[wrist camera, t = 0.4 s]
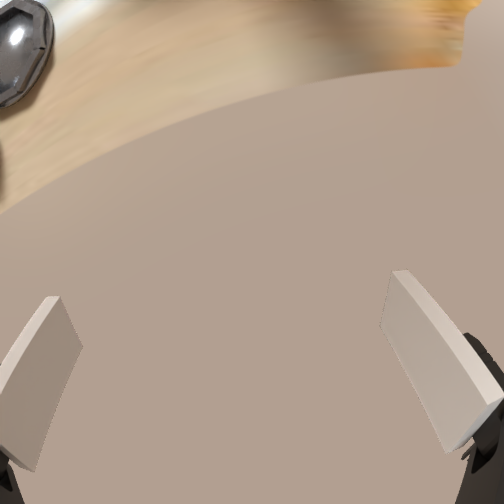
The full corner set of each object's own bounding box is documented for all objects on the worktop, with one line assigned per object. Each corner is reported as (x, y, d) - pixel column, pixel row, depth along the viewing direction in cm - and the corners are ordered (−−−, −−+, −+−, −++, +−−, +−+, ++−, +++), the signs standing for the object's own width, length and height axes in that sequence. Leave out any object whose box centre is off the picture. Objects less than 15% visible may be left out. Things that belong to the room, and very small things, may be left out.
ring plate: (-26, 33, 20) (-35, 33, 18) (54, -18, 20) (45, -23, 18) (-22, 124, 28) (-32, 127, 26) (57, 82, 28) (47, 82, 26)
